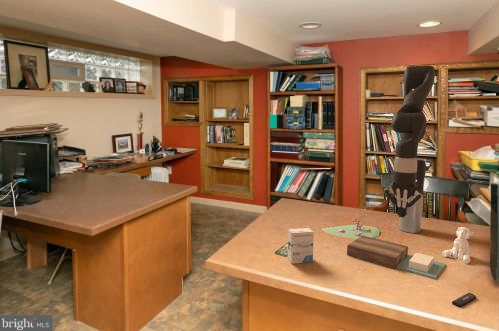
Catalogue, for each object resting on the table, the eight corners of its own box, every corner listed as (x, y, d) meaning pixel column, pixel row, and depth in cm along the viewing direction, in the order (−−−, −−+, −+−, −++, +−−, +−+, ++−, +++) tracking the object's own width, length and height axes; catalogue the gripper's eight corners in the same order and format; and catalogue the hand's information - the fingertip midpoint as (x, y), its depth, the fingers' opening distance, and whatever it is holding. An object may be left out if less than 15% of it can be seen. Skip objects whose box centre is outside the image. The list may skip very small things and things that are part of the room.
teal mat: (408, 255, 132) (408, 254, 132) (445, 265, 124) (445, 263, 124) (396, 268, 122) (396, 266, 122) (435, 279, 114) (435, 277, 113)
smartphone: (273, 252, 135) (291, 239, 147) (273, 255, 135) (291, 242, 147) (290, 256, 130) (307, 243, 143) (290, 259, 131) (307, 245, 143)
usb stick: (459, 309, 97) (460, 304, 97) (450, 305, 99) (450, 300, 99) (477, 299, 102) (477, 295, 102) (467, 296, 104) (468, 291, 104)
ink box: (308, 256, 132) (309, 227, 130) (313, 262, 127) (314, 231, 125) (287, 258, 130) (287, 228, 128) (290, 263, 125) (291, 233, 124)
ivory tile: (433, 256, 124) (433, 263, 124) (415, 252, 127) (415, 259, 128) (427, 265, 117) (427, 272, 117) (409, 260, 120) (408, 267, 121)
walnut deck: (362, 244, 143) (362, 235, 143) (407, 256, 132) (408, 246, 131) (346, 254, 133) (347, 245, 132) (394, 268, 121) (395, 258, 121)
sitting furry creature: (440, 256, 132) (443, 226, 130) (451, 250, 137) (453, 221, 135) (467, 264, 124) (471, 233, 122) (477, 258, 129) (481, 228, 127)
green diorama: (329, 241, 149) (330, 221, 147) (318, 225, 169) (319, 207, 168) (386, 240, 149) (387, 220, 148) (369, 225, 169) (370, 207, 168)
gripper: (428, 170, 120) (424, 218, 123) (389, 166, 129) (387, 211, 131) (422, 173, 114) (418, 223, 117) (382, 169, 123) (379, 215, 126)
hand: (401, 216), depth 124 cm, fingers closed
